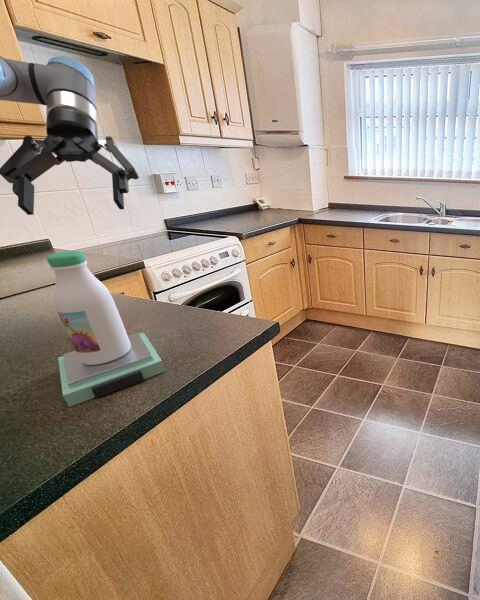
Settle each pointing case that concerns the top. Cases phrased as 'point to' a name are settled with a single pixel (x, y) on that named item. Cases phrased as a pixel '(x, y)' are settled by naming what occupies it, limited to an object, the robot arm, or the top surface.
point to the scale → (110, 379)
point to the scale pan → (86, 373)
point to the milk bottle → (87, 310)
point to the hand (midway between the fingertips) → (74, 207)
